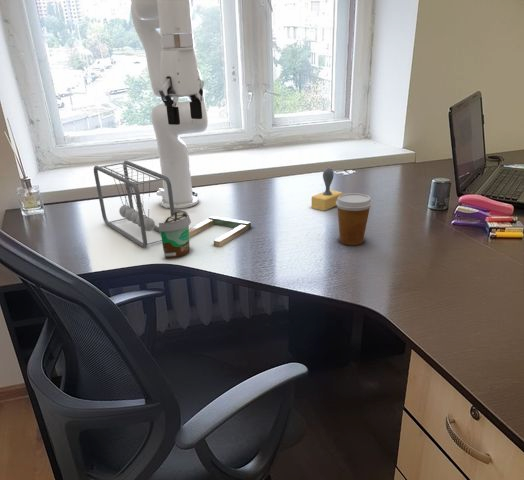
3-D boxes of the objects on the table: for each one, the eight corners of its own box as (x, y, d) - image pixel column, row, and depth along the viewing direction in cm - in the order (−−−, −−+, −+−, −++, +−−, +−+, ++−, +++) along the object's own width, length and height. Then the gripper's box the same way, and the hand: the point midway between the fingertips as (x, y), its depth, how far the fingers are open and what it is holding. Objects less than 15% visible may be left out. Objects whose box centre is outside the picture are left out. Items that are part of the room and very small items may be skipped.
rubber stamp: (329, 200, 178) (330, 163, 172) (343, 203, 175) (345, 166, 168) (310, 207, 172) (311, 169, 166) (324, 211, 169) (326, 172, 162)
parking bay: (179, 239, 151) (178, 233, 150) (212, 221, 163) (211, 215, 163) (220, 246, 145) (219, 240, 144) (251, 227, 157) (250, 221, 157)
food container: (185, 262, 137) (181, 224, 131) (163, 260, 138) (157, 223, 132) (199, 244, 147) (196, 209, 141) (178, 243, 148) (174, 208, 143)
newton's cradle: (103, 223, 165) (91, 164, 156) (134, 216, 170) (124, 159, 161) (145, 250, 145) (134, 184, 135) (178, 241, 150) (171, 177, 140)
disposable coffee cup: (347, 250, 140) (349, 205, 134) (327, 239, 147) (329, 196, 141) (376, 243, 144) (379, 199, 137) (355, 232, 151) (358, 190, 145)
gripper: (186, 42, 132) (193, 116, 141) (141, 45, 119) (152, 126, 128) (211, 41, 129) (216, 117, 138) (168, 44, 116) (177, 127, 125)
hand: (185, 121), depth 133 cm, fingers open, 9 cm apart
